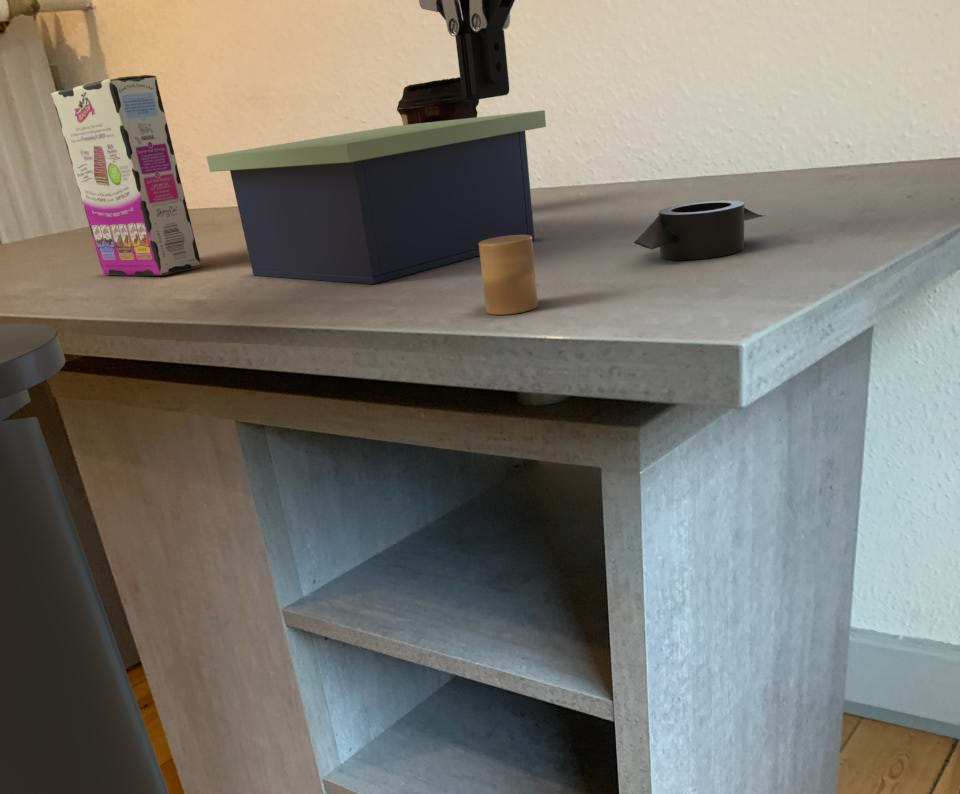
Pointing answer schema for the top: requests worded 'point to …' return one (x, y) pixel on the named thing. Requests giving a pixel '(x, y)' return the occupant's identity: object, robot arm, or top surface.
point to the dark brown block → (435, 102)
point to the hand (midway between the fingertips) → (486, 97)
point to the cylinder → (508, 274)
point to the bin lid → (376, 142)
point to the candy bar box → (128, 176)
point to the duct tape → (698, 230)
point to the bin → (385, 211)
